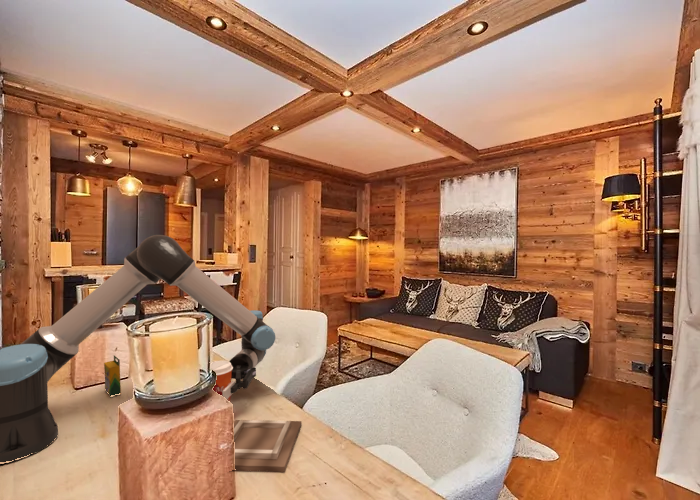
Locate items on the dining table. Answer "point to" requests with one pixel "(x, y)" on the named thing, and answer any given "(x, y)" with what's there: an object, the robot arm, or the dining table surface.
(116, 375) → the crayon box
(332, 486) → the dining table surface
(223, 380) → the coffee cup
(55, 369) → the robot arm
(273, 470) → the walnut board
